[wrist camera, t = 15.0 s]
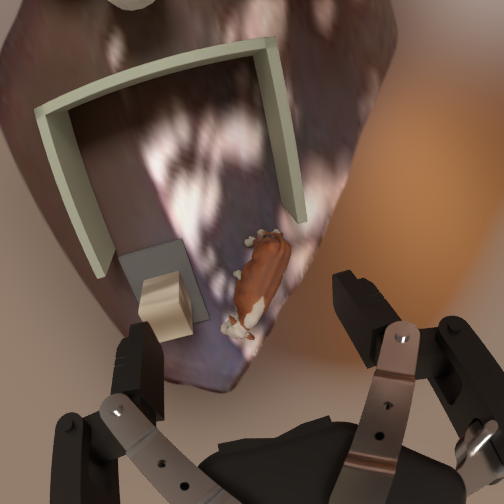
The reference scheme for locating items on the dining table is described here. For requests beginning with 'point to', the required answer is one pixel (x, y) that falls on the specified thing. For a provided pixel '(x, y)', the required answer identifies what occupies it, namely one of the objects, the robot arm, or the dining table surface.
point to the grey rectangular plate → (164, 272)
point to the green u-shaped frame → (56, 111)
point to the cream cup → (131, 4)
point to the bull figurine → (257, 282)
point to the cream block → (166, 306)
